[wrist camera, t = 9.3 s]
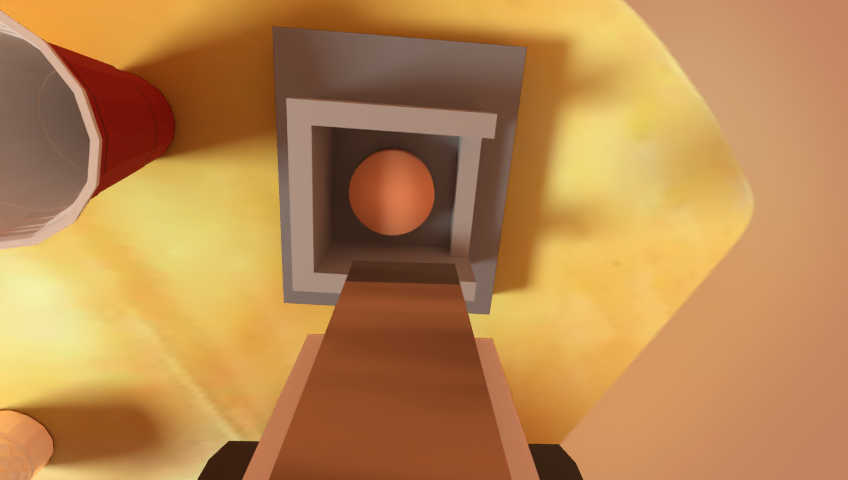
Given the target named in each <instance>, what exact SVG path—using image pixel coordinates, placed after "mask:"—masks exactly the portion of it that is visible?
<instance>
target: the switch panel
mask: <svg viewBox="0 0 848 480" xmlns="http://www.w3.org/2000/svg"><path fill="white" fill-rule="evenodd" d="M272 30H273V54H274V77H275V101H276V125H277V148H278V172H279V196H280V220H281V243H282V267H283V291H284V303H297V304H314V305H332V306H336V304H337V301H338V299H339V296H340V294H341V291H342V288H343V286H344V283H345V281H346V278H347V275H348V273H349V270H350V268H351V265H352V262H353V261H383V262H415V263H447V264H455V266H456V270H457V274H458V277H459V281H460V285H461V289H462V293H463V296H464V300H465V304H466V308H467V312H468V313H473V314H490V308H491V300H492V293H493V286H494V279H495V272H496V265H497V257H498V250H499V243H500V236H501V229H502V222H503V215H504V207H505V200H506V193H507V186H508V179H509V172H510V164H511V157H512V150H513V143H514V136H515V129H516V121H517V114H518V107H519V100H520V93H521V86H522V78H523V71H524V64H525V57H526V50H527V47H519V46H507V45H494V44H482V43H470V42H458V41H446V40H434V39H421V38H409V37H397V36H385V35H373V34H360V33H348V32H336V31H324V30H312V29H299V28H287V27H275V26H272ZM384 148H401V149H405V150H408V151H410V152H412V153H414V154H415V155H417V156H418V157H419V158H420V159H421V160H422V161H423V162H424V163H425V164H426V166H427V167H428V169H429V171H430V173H431V176H432V180H433V185H434V203H433V207H432V209H431V212H430V214H429V215H428V217H427V218H426V220H425V221H424V222H423V223H422V224H421V225H420V226H419V227H417V228H416V229H414V230H412V231H410V232H408V233H405V234H401V235H384V234H380V233H377V232H375V231H373V230H371V229H369V228H368V227H366V226H365V225H364V224H363V223H362V222H361V221H360V220H359V219H358V218H357V216H356V215H355V213H354V211H353V209H352V207H351V204H350V199H349V185H350V181H351V178H352V176H353V174H354V172H355V170H356V169H357V167H358V166H359V165H360V164H361V163H362V161H363V160H364V159H365V158H366V157H368V156H369V155H370V154H372V153H374V152H375V151H378V150H380V149H384Z"/></svg>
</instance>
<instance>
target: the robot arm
mask: <svg viewBox="0 0 848 480" xmlns="http://www.w3.org/2000/svg"><path fill="white" fill-rule="evenodd" d="M324 335H325V334H308V336H307V338H306V340H305V342H304V344H303V347H302V349H301V351H300V353H299V356H298V358H297V360H296V362H295V364H294V367H293V369H292V371H291V373H290V375H289V378H288V380H287V382H286V384H285V386H284V389H283V391H282V393H281V395H280V397H279V400H278V402H277V404H276V406H275V408H274V411H273V413H272V415H271V417H270V419H269V422H268V424H267V426H266V428H265V431H264V433H263V435H262V437H261V439H260V441H228V442H227V443H226V444H225V445H224V446H223V447H222V448H221V449H220V450H219V451H218V452H217V453H215V454H214V455H213V456H212V457H211V458H210V459H209V460H208V462H207V464H206V466H205V467H204V469H203V471H202V473H201V474H200V476H199V478H198V480H269V478H270V475H271V472H272V470H273V467H274V465H275V462H276V459H277V457H278V454H279V452H280V449H281V447H282V444H283V441H284V439H285V436H286V434H287V431H288V428H289V426H290V423H291V421H292V418H293V415H294V413H295V410H296V408H297V405H298V402H299V400H300V397H301V395H302V392H303V389H304V387H305V384H306V382H307V379H308V377H309V374H310V371H311V369H312V366H313V364H314V361H315V358H316V356H317V353H318V351H319V348H320V345H321V343H322V340H323V338H324ZM475 342H476V346H477V350H478V353H479V357H480V361H481V365H482V369H483V372H484V376H485V380H486V384H487V388H488V392H489V395H490V399H491V403H492V407H493V411H494V414H495V418H496V422H497V426H498V430H499V433H500V437H501V441H502V445H503V449H504V452H505V456H506V460H507V464H508V468H509V471H510V475H511V479H512V480H583V478H582V476H581V474H580V472H579V469H578V467H577V465H576V463H575V462H574V461H573V460H572V459H571V457H570V456H569V455H568V454H567V453H566V452H565V451H564V450H563V449H562V448H561V446H560V445H559V444H528V443H527V440H526V437H525V434H524V431H523V428H522V425H521V422H520V420H519V417H518V414H517V411H516V408H515V405H514V402H513V399H512V396H511V393H510V390H509V387H508V384H507V381H506V378H505V375H504V372H503V369H502V366H501V363H500V360H499V357H498V354H497V351H496V348H495V345H494V342H493V339H491V338H475Z"/></svg>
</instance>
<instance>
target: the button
mask: <svg viewBox="0 0 848 480" xmlns="http://www.w3.org/2000/svg"><path fill="white" fill-rule="evenodd" d="M349 199H350V204H351V207H352V209H353V211H354V213H355V215H356V216H357V218H358V219H359V220H360V221H361V222H362V223H363V224H364V225H365V226H366V227H368V228H369V229H371V230H373V231H375V232H377V233H380V234H384V235H401V234H405V233H408V232H410V231H412V230H414V229H416V228H417V227H419V226H420V225H421V224H422V223H423V222H424V221H425V220H426V218H427V217H428V215H429V214H430V212H431V209H432V207H433V203H434V185H433V180H432V176H431V173H430V171H429V169H428V167H427V166H426V164H425V163H424V162H423V161H422V160H421V159H420V158H419V157H418V156H417V155H415V154H414V153H412V152H410V151H408V150H405V149H401V148H384V149H380V150H378V151H375V152H374V153H372V154H370V155H369V156H368V157H366V158H365V159H364V160H363V161H362V163H361V164H360V165H359V166H358V167H357V169H356V170H355V172H354V174H353V176H352V178H351V181H350V185H349Z"/></svg>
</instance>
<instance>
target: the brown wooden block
mask: <svg viewBox="0 0 848 480" xmlns="http://www.w3.org/2000/svg"><path fill="white" fill-rule="evenodd" d="M269 480H512V479H511V475H510V471H509V468H508V464H507V460H506V456H505V452H504V449H503V445H502V441H501V437H500V433H499V430H498V426H497V422H496V418H495V414H494V411H493V407H492V403H491V399H490V395H489V392H488V388H487V384H486V380H485V376H484V372H483V369H482V365H481V361H480V357H479V353H478V350H477V346H476V342H475V338H474V334H473V331H472V327H471V323H470V319H469V315H468V312H467V308H466V304H465V300H464V296H463V293H462V289H461V285H460V281H459V277H458V274H457V270H456V266H455V264H447V263H415V262H383V261H353V262H352V265H351V268H350V270H349V273H348V275H347V278H346V281H345V283H344V286H343V288H342V291H341V294H340V296H339V299H338V301H337V304H336V306H335V309H334V312H333V314H332V317H331V319H330V322H329V325H328V327H327V330H326V332H325V335H324V338H323V340H322V343H321V345H320V348H319V351H318V353H317V356H316V358H315V361H314V364H313V366H312V369H311V371H310V374H309V377H308V379H307V382H306V384H305V387H304V389H303V392H302V395H301V397H300V400H299V402H298V405H297V408H296V410H295V413H294V415H293V418H292V421H291V423H290V426H289V428H288V431H287V434H286V436H285V439H284V441H283V444H282V447H281V449H280V452H279V454H278V457H277V459H276V462H275V465H274V467H273V470H272V472H271V475H270V478H269Z"/></svg>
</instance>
